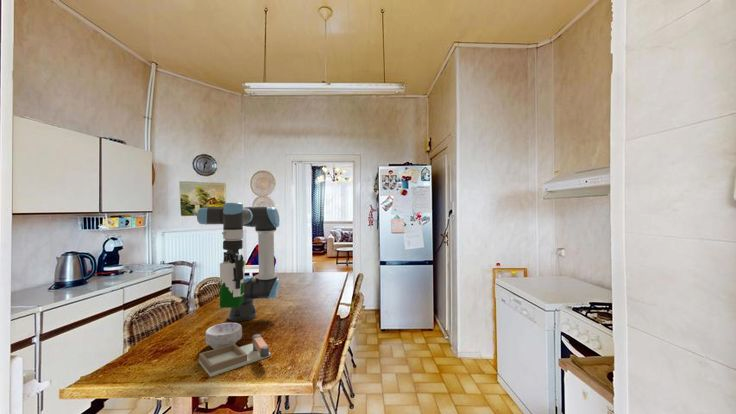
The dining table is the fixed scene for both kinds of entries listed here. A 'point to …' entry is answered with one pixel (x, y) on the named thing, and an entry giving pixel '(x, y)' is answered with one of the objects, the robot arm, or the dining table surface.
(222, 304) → the soya milk
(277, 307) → the dining table surface
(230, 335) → the paper bowls
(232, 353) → the seat board
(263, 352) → the leg bar
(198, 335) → the dining table surface
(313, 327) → the dining table surface
